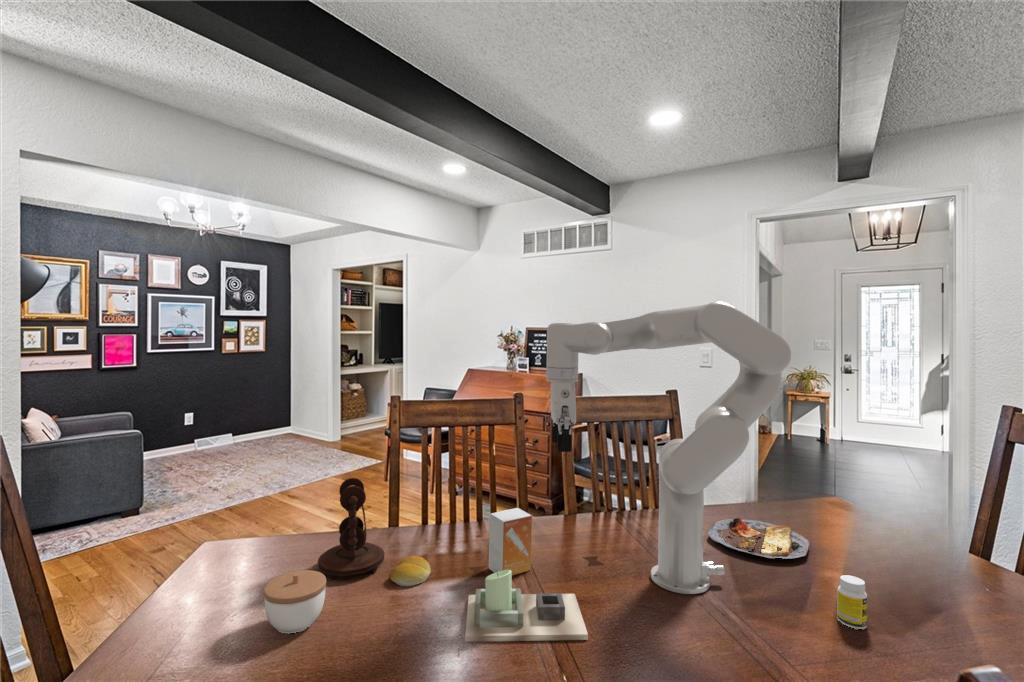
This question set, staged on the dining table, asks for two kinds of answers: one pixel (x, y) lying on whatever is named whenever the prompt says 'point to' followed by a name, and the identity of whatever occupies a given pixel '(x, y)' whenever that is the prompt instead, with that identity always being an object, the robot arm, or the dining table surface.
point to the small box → (510, 541)
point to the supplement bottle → (852, 602)
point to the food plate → (773, 537)
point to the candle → (498, 591)
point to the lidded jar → (294, 600)
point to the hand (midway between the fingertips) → (561, 446)
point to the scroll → (351, 538)
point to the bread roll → (411, 571)
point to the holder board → (526, 618)
